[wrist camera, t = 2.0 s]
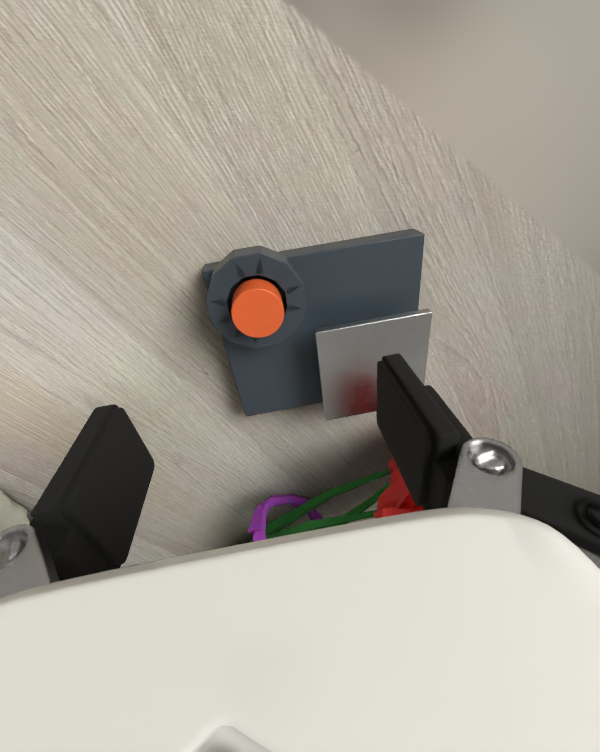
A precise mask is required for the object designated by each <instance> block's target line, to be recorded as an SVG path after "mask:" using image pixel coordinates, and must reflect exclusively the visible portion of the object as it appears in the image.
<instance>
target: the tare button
mask: <svg viewBox="0 0 600 752" xmlns="http://www.w3.org/2000/svg"><path fill="white" fill-rule="evenodd" d="M231 316H232V320H233V323H234V325H235V326H236V327H237V329H238V330H239V331H241V332H242V333H243V334H245V335H247V336H250V337H255V338H261V337H266V336H269V335H271V334H273V333H274V332H276V331H277V330H278V329H279V327H280V326H281V324H282V322H283V319H284V307H283V303H282V298H281V295H280V293H279V291H278V289H277V288H276V287H275V286H274V285H273V284H272V283H270V282H268V281H266V280H262V279H251V280H248V281H245V282H244V283H242V284H241V285H240V286H239V287H238V288H237V289H236V291H235V292H234V295H233V299H232V308H231Z"/></svg>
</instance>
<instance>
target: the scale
mask: <svg viewBox="0 0 600 752" xmlns="http://www.w3.org/2000/svg"><path fill="white" fill-rule="evenodd" d="M423 245H424V233H421V232H419V231H417V230H415V229H409V230H403V231H397V232H391V233H385V234H379V235H374V236H368V237H362V238H356V239H350V240H344V241H338V242H333V243H327V244H321V245H315V246H309V247H303V248H297V249H292V250H286V251H280V252H275V251H273V250H270V249H268V248H265V247H263V246H254V247H248V248H242V249H236V250H233V251H232V252H231V253H230V254H228V255H227V256H226V257H225V258H224V259H223V260H222V261H221V262H215V263H210V264H205V266H204V268H203V271H202V274H203V277H204V281H205V284H206V287H207V291H208V292H207V296H206V300H205V302H206V306H207V309H208V312H209V315H210V318H211V321H212V324H213V326H214V327H215V328H216V329H217V330H218V331H219V332H220V333H221V336H222V340H223V343H224V346H225V349H226V353H227V356H228V359H229V362H230V366H231V369H232V372H233V375H234V379H235V382H236V385H237V389H238V392H239V395H240V398H241V402H242V405H243V408H244V411H245V415H246V416H252V415H257V414H262V413H268V412H273V411H278V410H284V409H289V408H295V407H300V406H305V405H311V404H316V403H321V402H322V394H321V385H320V377H319V368H318V360H317V352H316V343H315V335H314V329H317V328H322V327H328V326H333V325H339V324H345V323H350V322H356V321H361V320H367V319H373V318H378V317H384V316H389V315H395V314H401V313H406V312H412V311H417V310H418V304H419V292H420V280H421V269H422V257H423ZM251 279H262V280H266V281H268V282H270V283H272V284H273V285H274V286H275V287H276V288H277V289H278V291H279V293H280V295H281V298H282V303H283V307H284V319H283V322H282V324H281V326H280V327H279V329H278V330H277V331H276V332H274V333H273V334H271V335H269V336H266V337H261V338H255V337H250V336H247V335H245V334H243V333H242V332H241V331H239V330H238V329H237V327H236V326H235V325H234V323H233V320H232V316H231V308H232V299H233V295H234V292H235V291H236V289H237V288H238V287H239V286H240V285H241V284H242V283H244V282H245V281H248V280H251Z"/></svg>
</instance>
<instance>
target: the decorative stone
mask: <svg viewBox="0 0 600 752" xmlns="http://www.w3.org/2000/svg"><path fill="white" fill-rule="evenodd" d="M27 513H28V511H27V510H26V509H25V508H24V507H23V506H21V505H19V504H17V503H15V502H14V501H12V500H11V499H10V498H9V497H8V496H7V495H6V494H4V493H3V492H2V491H0V532H1V531H3V530H5V529H7V528H9V527H12V526H15V525H20V524H27V525H30V522H29V520H28V517H27Z"/></svg>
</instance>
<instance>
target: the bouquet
mask: <svg viewBox="0 0 600 752" xmlns="http://www.w3.org/2000/svg"><path fill="white" fill-rule="evenodd" d="M388 467H389V469H387V470H384V471H381V472H378V473H375V474H373V475H370V476H367V477H364V478H361V479H358V480H355V481H352V482H350V483H347V484H344V485H341V486H338V487H335V488H332V489H330V490H327V491H325V492H324V493H322V494H320V495H318V496H316V497H315V498H313V499H311V500H309V501H308V500H307V499H306V498H302V497H299V496H296V495H293V494H288V495H272V496H271V497H270V498H268V499H267V500H265V501H264V502H262V503H261V504H258V505H257V507H256V508H255V511H254V514H253V517H252V520H251V523H250V526H249V528H248V532H249V533H251V534H253V539H252V540H251V541H250V542H255V541H260V540H265V539H270V538H275V537H280V536H286V535H291V534H296V533H301V532H307V531H312V530H317V529H322V528H328V527H333V526H338V525H343V524H347V523H349V522H351V521H356V520H361V519H365V518H370V517H374V516H375V519H376V518H382V517H387V516H393V515H399V514H405V513H411V512H416V511H424V510H423V508H422V506H416V504H415V503H414V501H413V499H412V497H411V494H410V492H409V490H408V488H407V486H406V484H405V482H404V480H403V478H402V475H401V473H400V471H399V469H398V467H397V465H396V463H395V461H394V459H393V456H392V454H391V461H390V462H389V463H388ZM390 473H391V479H390V480H391V481H390V482H389V483H388V484H386V485H385V486H384V487H383V488H382V489H380V490H379V491H378V492H377V493H375V494H374V495H373V496H372V497H370V498H369V499H368V500H366V501H365V502H363V503H361V504H360V505H358V506H357V507H355V508H354V509H352V510H351V511H349V512H347V513H346V514H344V515H343V516H337V517H331V518H325V519H323V517H322V515H321V514H320V513H319V512H318V511H317V510H316V509H315V508H317V507H318V506H320V505H321V504H323V503H324V502H326V501H328V500H329V499H331V498H332V497H334V496H337V495H339V494H341V493H344V492H346V491H349V490H351V489H354V488H356V487H359V486H361V485H363V484H366V483H368V482H371V481H373V480H376V479H378V478H380V477H383V476H385V475H388V474H390ZM376 501H378V506H377V510H375V511H369V512H363V511H365V510H366V509H367V508H369V507H370V506H371V505H373V504H374V503H375V502H376ZM285 504H290V505H292V506H294V507H296V508H295V509H293V510H291V511H290V512H288V513H286V514H284V515H283V516H281V517H279V518H277V519H275V520H274V521H272V522H270V523H268V524H267V525H266V514H267V513H268V512H269V510H270V509H271V508H272V507H274V506H279V505H285ZM306 514H308V516H309V518H310V519H311V521H307V522H304V523H301V524H298V525H296V526H293V527H290V528H287V529H284V528H285V527H287V526H288V525H290V524H292V523H293V522H295V521H296V520H298V519H299V518H301V517H303V516H304V515H306ZM314 528H315V529H314ZM282 529H284V530H282ZM281 530H282V531H281ZM250 542H249V543H250ZM235 545H237V544H235Z"/></svg>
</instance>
